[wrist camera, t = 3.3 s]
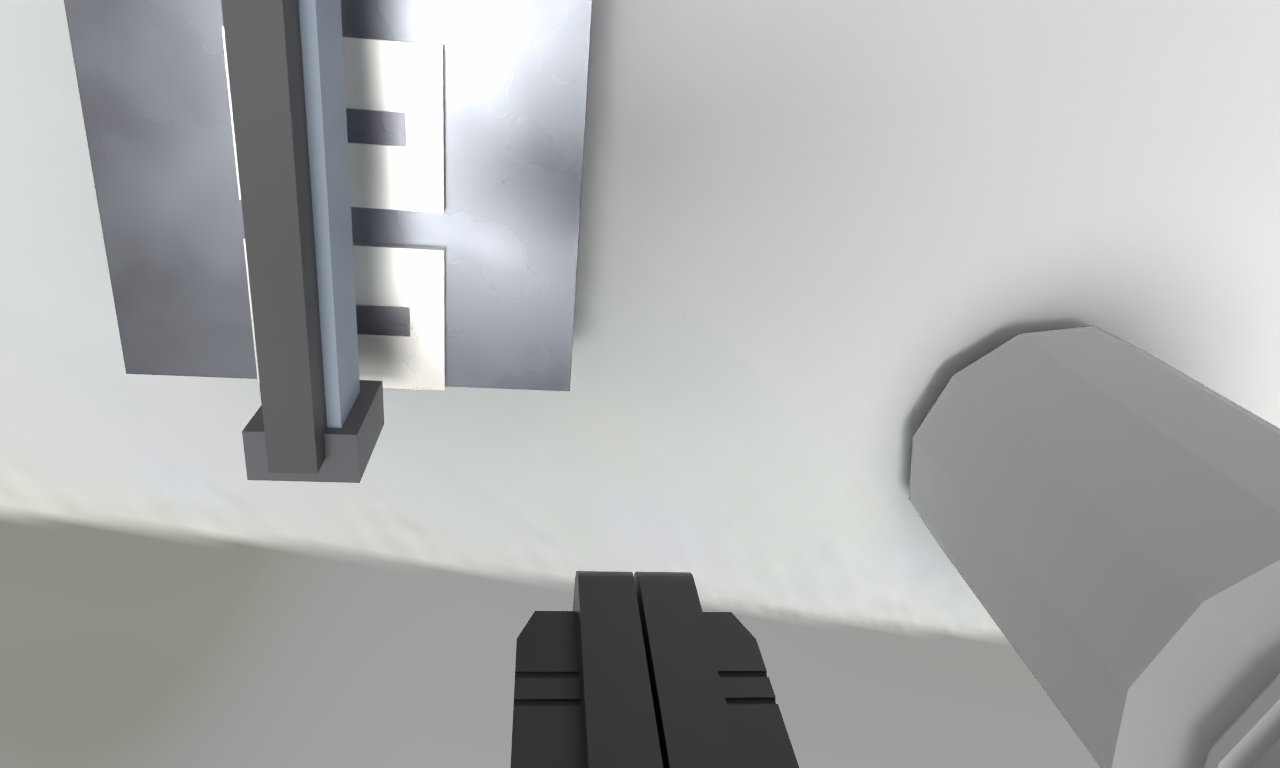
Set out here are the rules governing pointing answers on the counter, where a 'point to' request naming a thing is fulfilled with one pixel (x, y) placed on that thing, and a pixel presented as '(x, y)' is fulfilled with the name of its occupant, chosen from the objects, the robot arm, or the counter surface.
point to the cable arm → (299, 242)
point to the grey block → (352, 186)
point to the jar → (1117, 542)
